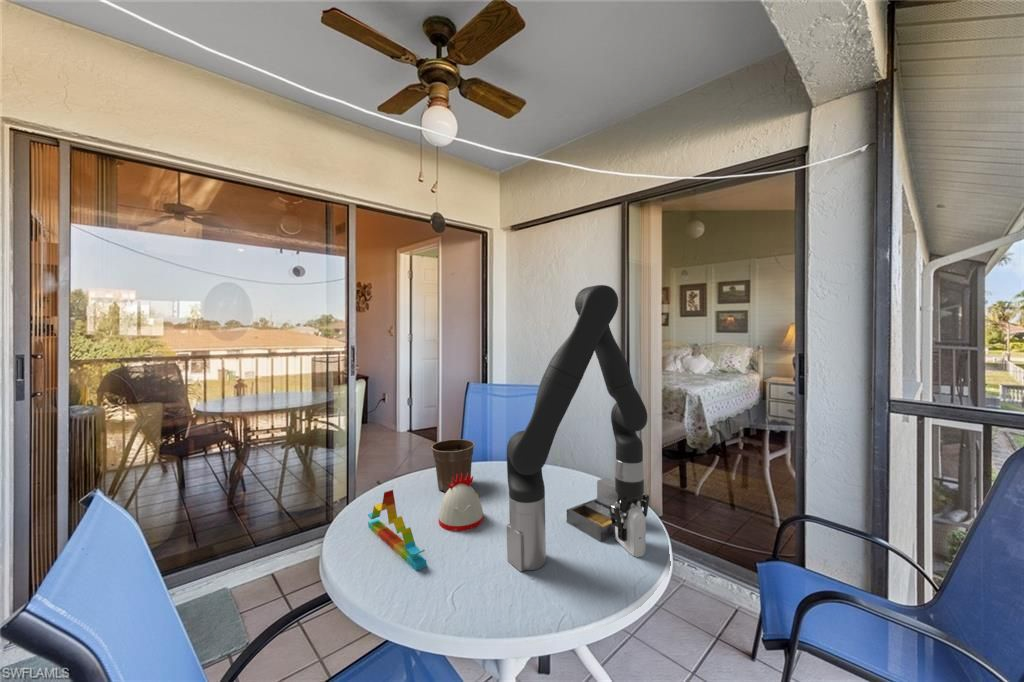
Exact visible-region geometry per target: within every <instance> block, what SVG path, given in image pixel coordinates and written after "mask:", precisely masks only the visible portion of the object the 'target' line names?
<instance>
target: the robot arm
mask: <svg viewBox="0 0 1024 682" xmlns="http://www.w3.org/2000/svg"><path fill="white" fill-rule="evenodd" d="M618 307H619V298H618V293H617V292H616V291H615V290H614V288H612V287H611V286H609V285H605V284H597V285H593V286H591V285H590V286H586V287H584V288H582V289H580V291H579V292H578V293H577V295H576V296H575V299H574V308H575V311H576V314H577V315H578V318H577V320H576V322H575V326H574V327H573V328H572V329H573V330H572V331H571V333H570V334H569V335H568V337H567V338H566V340H565V341H564V342H563V343H562V344H561V346H559V348H558V349H557V351H556V352H555V353H554V354H553V356H552V358H551V359H550V361H549V363H548V366H547V367H546V369H545V371H544V372H543V376H542V378H541V380H540V383H539V386H538V389H537V393H536V394H537V395H536V398H535V403H534V409H533V412H532V415H531V417H530V418H529V419H530V420H529V422H528V424H527V426H526V427H525V429H524V430H521V431H520V430H519V431H517V432H515V433H514V434H513V435H511V436H510V438H509V440H508V441H507V444H506V466H507V467H506V471H507V472H506V473H507V484H508V495H509V497H508V499H509V500H508V501H509V503H508V505H509V524H507V525H506V553H507V554H506V556H507V557H506V559H507V560H506V561H507V562H508V563H510V564H511V566H513V567H514V568H516V569H517V570H518V571H519V572H523V571H534V570H538V569H540V568H542V567H543V566H544V565H545V564H546V561H547V552H546V551H547V546H546V543H547V541H546V488H545V486H546V485H545V483H544V477H543V467H544V466H545V465H546V462H547V459H548V457H549V455H550V452H551V448H552V445H553V442H554V439H555V436H556V434H557V431H558V429H559V427H560V425H561V423H562V421H563V419H564V417H565V414H566V413H567V411H568V408H569V407H570V404H571V403H572V400H573V399H574V396H575V394H576V393H577V390H578V388H579V386H580V384H581V382H582V380H583V378H584V374H585V373H586V370H587V369H588V366H589V364H590V362H591V360H592V358H593V355H594V353H595V355H596V359H597V360H598V364H599V367H600V368H599V369H600V370H601V373H602V377H603V381H604V384H605V386H606V390H607V392H608V394H609V396H610V397H611V398H613V399H614V401H615V403H614V405H613V406H612V408H611V412H610V421H611V426H612V427H611V428H612V432H613V433H612V434H613V436H614V440H615V464H614V481H615V491H616V493H617V494H618V499H617V503H616V504H614V505H612V504H610V505H609V510H610V516H611V522H612V525H614V526H616V527H618V538H619V539H620V540H622V541H623V542H625V541H626V540H627V528H626V526H627V520H628V513H629V511H630V509H632V507H634V505H636V506H637V507H638V508H639V509H640V510H641V511H642V513H643V514H644V516H645V518H646V517H647V516H648V510H649V502H650V501H649V500H650V495H649V494H647V493H645V466H644V460H643V459H644V445H643V441H642V439H641V438H640V437H639V436H638V435H637V432H640V431H641V430H644V428H645V427H646V425H647V423H648V412H647V408H646V406H645V403H644V402H643V400H642V398H641V395H640V394H639V392H638V391H637V389H636V387H635V384H634V381H633V377H632V374H631V371H630V368H629V365H628V362H627V359H626V357H625V355H624V354H623V352H622V350H621V349H620V347H619V344H617V343H618V342H616V339H615V338H614V335H613V332H612V330H611V328H610V324H611V322H612V320H613V318H614V317H615V315H616V313H617V311H618ZM642 509H643V510H642ZM622 512H623V513H626V516H625V515H623V514H622ZM622 518H623V519H624V520H623V523H622V522H621V520H622Z"/></svg>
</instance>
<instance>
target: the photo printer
mask: <svg viewBox="0 0 1024 682" xmlns="http://www.w3.org/2000/svg"><path fill="white" fill-rule="evenodd" d="M616 503H617V502H616ZM642 511H643V510H642ZM642 511H641V510H640V509H639V508H638V507H637V506H636V505H634V507H632V509H630V511H629V513H628V520H627V526H626V528H627V540H626V541H625V542H623V541H622V540H620V539H619V538H618V527H616V526H615V536H614V538H615V540H616V541H617V543H619V545H620V546H622V547H623V548H624V550H626V551H627V552H628V553H629V554H630V555H631V556H633V557H636V558H640V557H643V556H644V555H645V554H646V544H647V543H646V535H647V534H646V531H647V530H646V529H647V528H646V525H647V524H646V521H647V520H646V517H645V516H644V514H643V513H642ZM622 514H623V515H625V516H626V513H623V512H622ZM623 520H624V519H623V518H622V520H621V522H622V523H623Z"/></svg>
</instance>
